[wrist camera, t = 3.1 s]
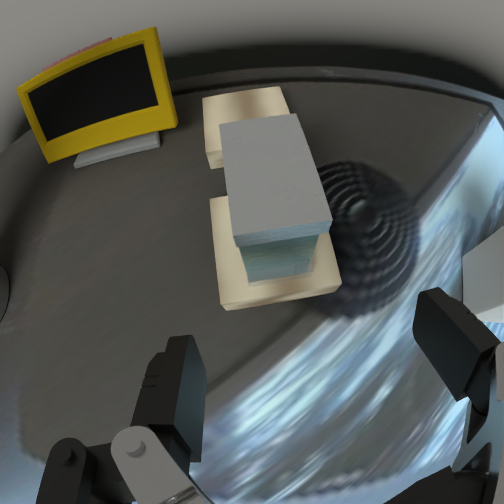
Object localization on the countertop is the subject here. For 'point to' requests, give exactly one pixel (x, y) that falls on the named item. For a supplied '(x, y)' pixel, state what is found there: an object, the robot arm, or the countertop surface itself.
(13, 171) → the countertop surface
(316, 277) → the stand
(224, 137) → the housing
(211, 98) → the stand
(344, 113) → the countertop surface
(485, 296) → the milk carton
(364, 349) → the countertop surface
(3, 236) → the countertop surface
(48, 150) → the toy computer monitor
